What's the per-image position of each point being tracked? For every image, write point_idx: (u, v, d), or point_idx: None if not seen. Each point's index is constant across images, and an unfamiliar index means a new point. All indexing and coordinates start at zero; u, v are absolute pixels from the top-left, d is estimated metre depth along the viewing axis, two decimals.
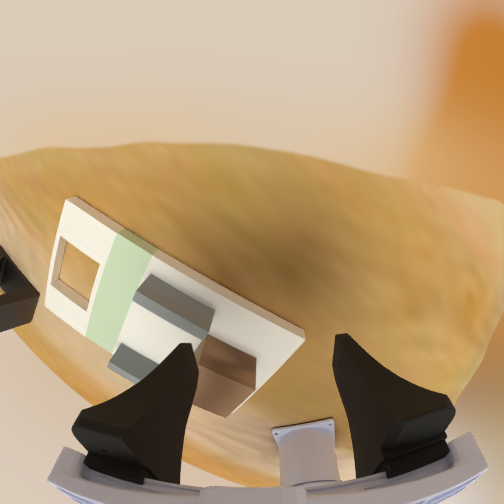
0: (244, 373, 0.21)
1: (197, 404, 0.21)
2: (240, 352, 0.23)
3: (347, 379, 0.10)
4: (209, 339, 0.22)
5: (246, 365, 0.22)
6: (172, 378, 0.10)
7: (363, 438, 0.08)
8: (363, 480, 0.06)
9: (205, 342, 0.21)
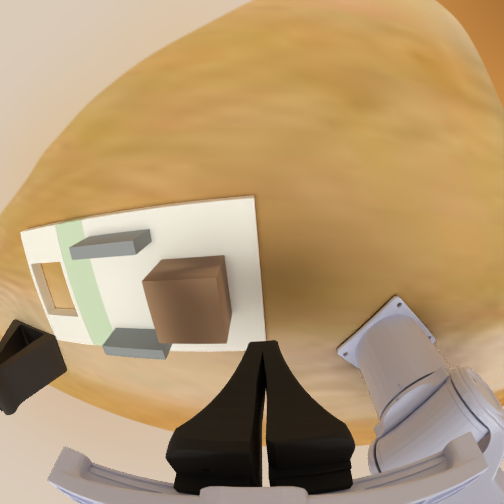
0: (202, 270, 0.18)
1: (185, 340, 0.18)
2: (201, 258, 0.20)
3: (266, 387, 0.11)
4: (163, 262, 0.20)
5: (207, 263, 0.19)
6: (258, 379, 0.10)
7: None
8: (363, 480, 0.06)
9: (157, 265, 0.19)
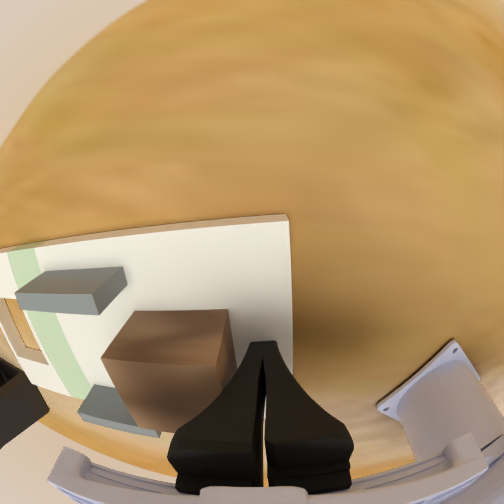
0: (193, 342, 0.10)
1: (174, 430, 0.11)
2: (192, 313, 0.13)
3: None
4: (136, 316, 0.13)
5: (202, 328, 0.11)
6: (259, 379, 0.10)
7: None
8: (363, 480, 0.06)
9: (126, 322, 0.12)
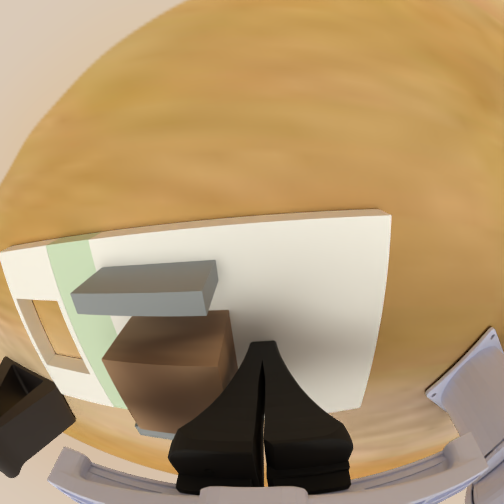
0: (194, 343, 0.10)
1: (175, 431, 0.11)
2: None
3: (265, 387, 0.11)
4: (136, 317, 0.13)
5: (203, 329, 0.11)
6: (259, 379, 0.10)
7: None
8: (363, 480, 0.06)
9: (127, 324, 0.12)
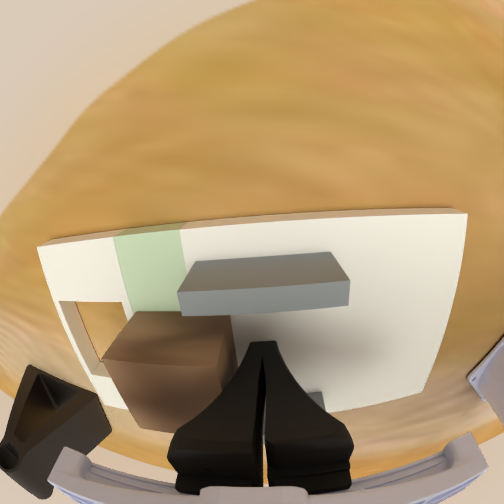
0: (194, 344, 0.10)
1: (174, 430, 0.11)
2: None
3: None
4: (137, 317, 0.13)
5: (203, 329, 0.11)
6: (259, 379, 0.10)
7: None
8: (363, 480, 0.06)
9: (128, 323, 0.12)
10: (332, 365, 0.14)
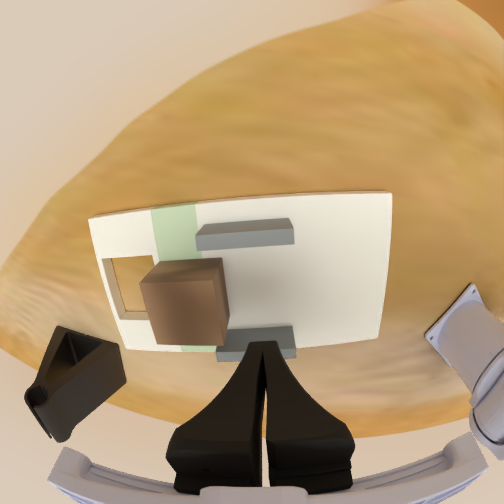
0: (199, 272, 0.18)
1: (182, 342, 0.18)
2: (199, 260, 0.20)
3: (266, 387, 0.11)
4: (161, 263, 0.20)
5: (205, 265, 0.19)
6: (258, 379, 0.10)
7: None
8: (363, 480, 0.06)
9: (155, 267, 0.19)
10: (298, 302, 0.21)
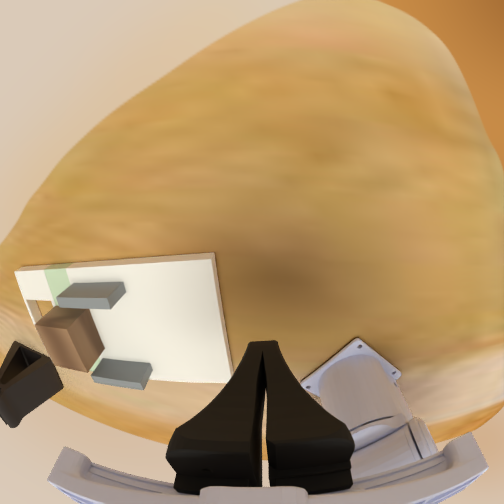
0: (66, 320, 0.20)
1: (66, 366, 0.20)
2: (74, 308, 0.22)
3: (266, 387, 0.11)
4: (54, 308, 0.22)
5: (73, 314, 0.21)
6: (258, 379, 0.10)
7: None
8: (363, 480, 0.06)
9: (50, 311, 0.22)
10: (148, 346, 0.23)
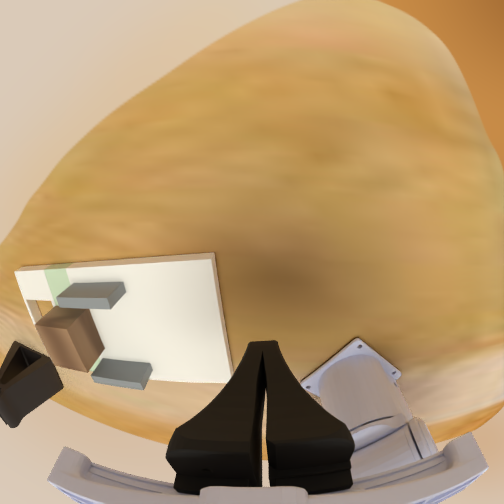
0: (66, 320, 0.20)
1: (66, 366, 0.20)
2: (74, 308, 0.22)
3: (266, 387, 0.11)
4: (54, 308, 0.22)
5: (73, 314, 0.21)
6: (258, 379, 0.10)
7: None
8: (363, 480, 0.06)
9: (50, 311, 0.22)
10: (148, 346, 0.23)
